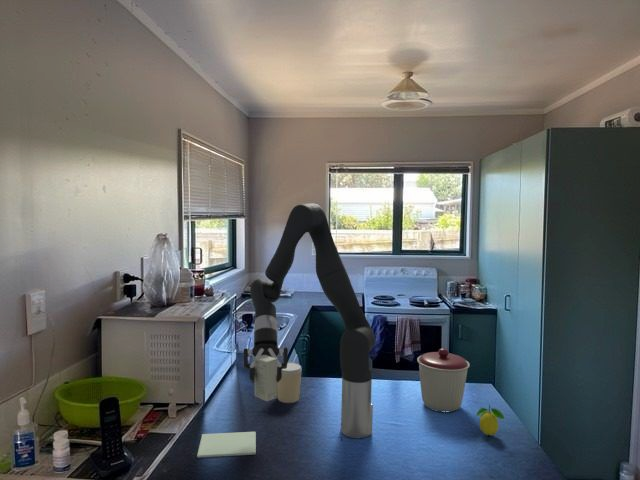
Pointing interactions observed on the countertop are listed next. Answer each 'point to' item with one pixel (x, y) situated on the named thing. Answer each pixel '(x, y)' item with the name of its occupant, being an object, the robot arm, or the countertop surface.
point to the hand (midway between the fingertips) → (265, 381)
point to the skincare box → (265, 377)
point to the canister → (442, 379)
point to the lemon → (489, 420)
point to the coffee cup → (289, 383)
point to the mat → (227, 444)
